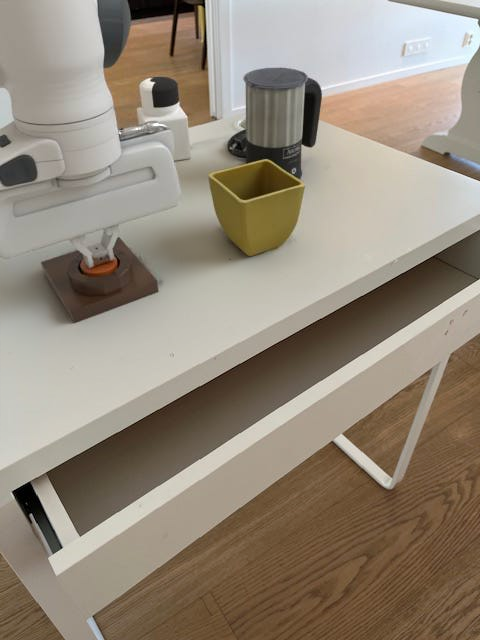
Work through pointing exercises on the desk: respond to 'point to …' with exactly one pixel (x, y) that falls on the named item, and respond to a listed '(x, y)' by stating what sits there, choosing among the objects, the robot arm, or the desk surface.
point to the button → (99, 268)
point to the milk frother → (278, 118)
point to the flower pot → (256, 204)
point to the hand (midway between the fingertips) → (99, 262)
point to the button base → (98, 283)
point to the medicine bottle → (165, 111)
